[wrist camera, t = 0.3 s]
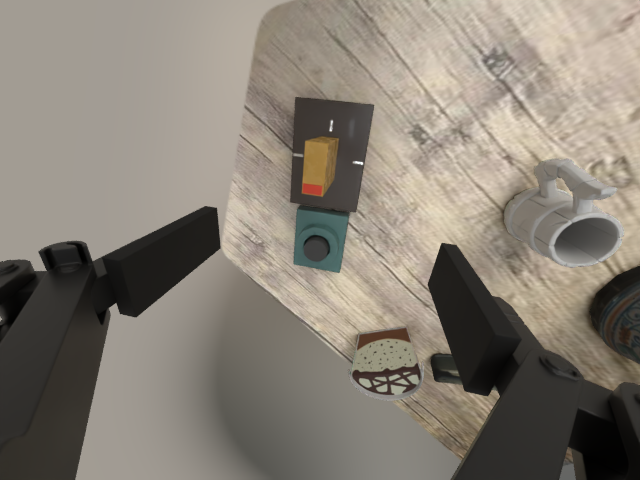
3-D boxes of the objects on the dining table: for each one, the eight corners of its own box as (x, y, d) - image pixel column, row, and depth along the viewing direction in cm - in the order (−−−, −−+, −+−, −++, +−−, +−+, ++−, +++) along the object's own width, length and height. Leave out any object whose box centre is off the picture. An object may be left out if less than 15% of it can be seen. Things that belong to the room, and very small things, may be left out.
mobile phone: (434, 385, 45) (532, 395, 42) (435, 374, 44) (536, 383, 41) (429, 362, 50) (517, 369, 46) (430, 351, 49) (520, 357, 45)
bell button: (307, 233, 39) (304, 238, 37) (330, 237, 38) (328, 242, 37) (305, 254, 40) (302, 259, 39) (327, 258, 40) (325, 263, 38)
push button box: (300, 204, 41) (293, 212, 37) (349, 212, 40) (347, 221, 36) (296, 258, 45) (290, 269, 42) (341, 266, 44) (338, 279, 41)
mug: (501, 242, 37) (553, 290, 27) (498, 162, 33) (558, 181, 23) (564, 231, 35) (647, 279, 25) (569, 144, 31) (672, 156, 20)
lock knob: (321, 136, 33) (304, 140, 25) (339, 138, 33) (328, 143, 25) (317, 177, 36) (301, 194, 28) (333, 180, 36) (322, 197, 27)
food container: (360, 356, 52) (358, 404, 43) (351, 334, 50) (346, 380, 41) (422, 349, 48) (434, 400, 40) (415, 324, 46) (425, 372, 38)
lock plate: (300, 98, 34) (294, 96, 32) (374, 105, 33) (374, 104, 31) (294, 198, 40) (289, 202, 38) (356, 207, 39) (355, 212, 37)
